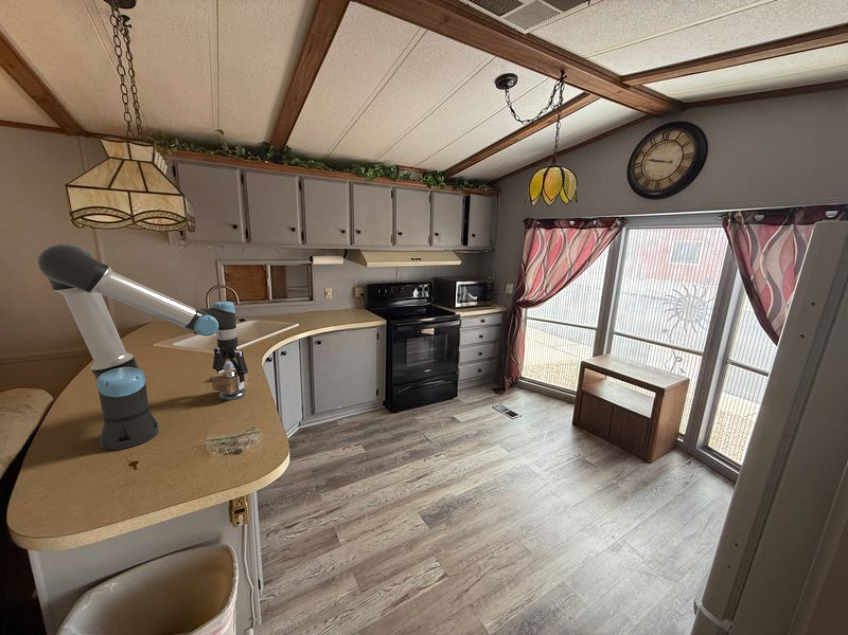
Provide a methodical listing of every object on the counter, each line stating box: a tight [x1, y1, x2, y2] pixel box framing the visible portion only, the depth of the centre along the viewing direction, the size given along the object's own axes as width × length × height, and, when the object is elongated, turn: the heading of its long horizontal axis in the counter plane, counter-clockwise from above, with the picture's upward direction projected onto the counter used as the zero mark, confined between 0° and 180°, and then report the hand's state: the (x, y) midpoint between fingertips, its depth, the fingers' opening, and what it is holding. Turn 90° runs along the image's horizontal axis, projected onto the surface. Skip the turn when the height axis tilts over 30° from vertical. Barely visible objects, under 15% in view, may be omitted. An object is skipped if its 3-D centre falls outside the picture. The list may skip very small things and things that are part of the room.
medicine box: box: [223, 360, 236, 371], centre depth 165 cm, size 8×4×9 cm, turn 168°
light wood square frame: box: [211, 369, 251, 393], centre depth 145 cm, size 10×10×6 cm
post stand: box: [218, 371, 246, 402], centre depth 145 cm, size 10×10×11 cm
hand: (231, 386), depth 145 cm, fingers closed on light wood square frame, 10 cm apart
